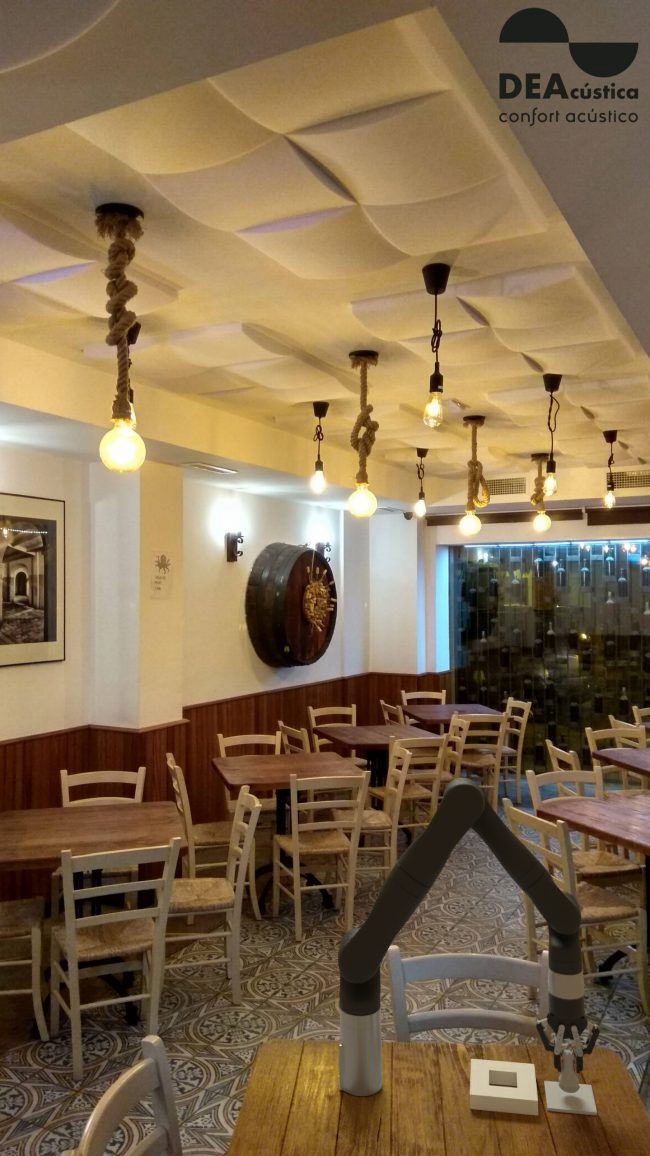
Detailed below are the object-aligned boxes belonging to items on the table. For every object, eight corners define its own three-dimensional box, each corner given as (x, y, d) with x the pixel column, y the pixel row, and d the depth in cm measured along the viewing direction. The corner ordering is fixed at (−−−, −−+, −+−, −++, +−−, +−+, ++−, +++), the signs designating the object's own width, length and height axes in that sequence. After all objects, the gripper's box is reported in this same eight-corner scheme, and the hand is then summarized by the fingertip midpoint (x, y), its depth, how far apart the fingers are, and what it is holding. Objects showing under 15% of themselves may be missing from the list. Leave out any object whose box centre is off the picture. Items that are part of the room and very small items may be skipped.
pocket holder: (470, 1108, 173) (469, 1094, 173) (471, 1072, 187) (471, 1058, 187) (538, 1115, 171) (537, 1100, 171) (534, 1077, 184) (534, 1064, 184)
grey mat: (547, 1110, 172) (547, 1107, 172) (544, 1083, 182) (544, 1080, 182) (597, 1115, 170) (597, 1112, 170) (591, 1087, 180) (591, 1084, 180)
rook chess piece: (581, 1095, 174) (579, 1056, 174) (559, 1092, 175) (557, 1054, 175) (578, 1082, 178) (577, 1045, 178) (557, 1081, 179) (556, 1043, 179)
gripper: (533, 995, 175) (535, 1077, 174) (602, 1000, 172) (605, 1083, 171) (531, 979, 182) (533, 1058, 181) (597, 983, 179) (600, 1064, 179)
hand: (568, 1070), depth 176 cm, fingers closed on rook chess piece, 3 cm apart
